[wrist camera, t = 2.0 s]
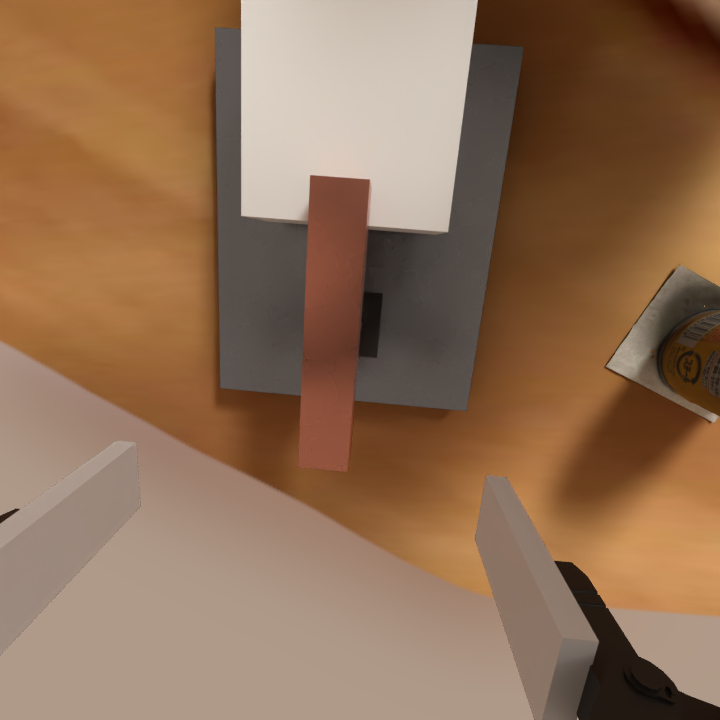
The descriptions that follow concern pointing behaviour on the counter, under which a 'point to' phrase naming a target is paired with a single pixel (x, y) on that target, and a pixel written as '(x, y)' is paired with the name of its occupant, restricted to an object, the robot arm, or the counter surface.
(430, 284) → the latch plate
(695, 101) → the counter surface
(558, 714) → the robot arm
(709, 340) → the condiment
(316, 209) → the t key
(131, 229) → the counter surface
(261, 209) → the cover
